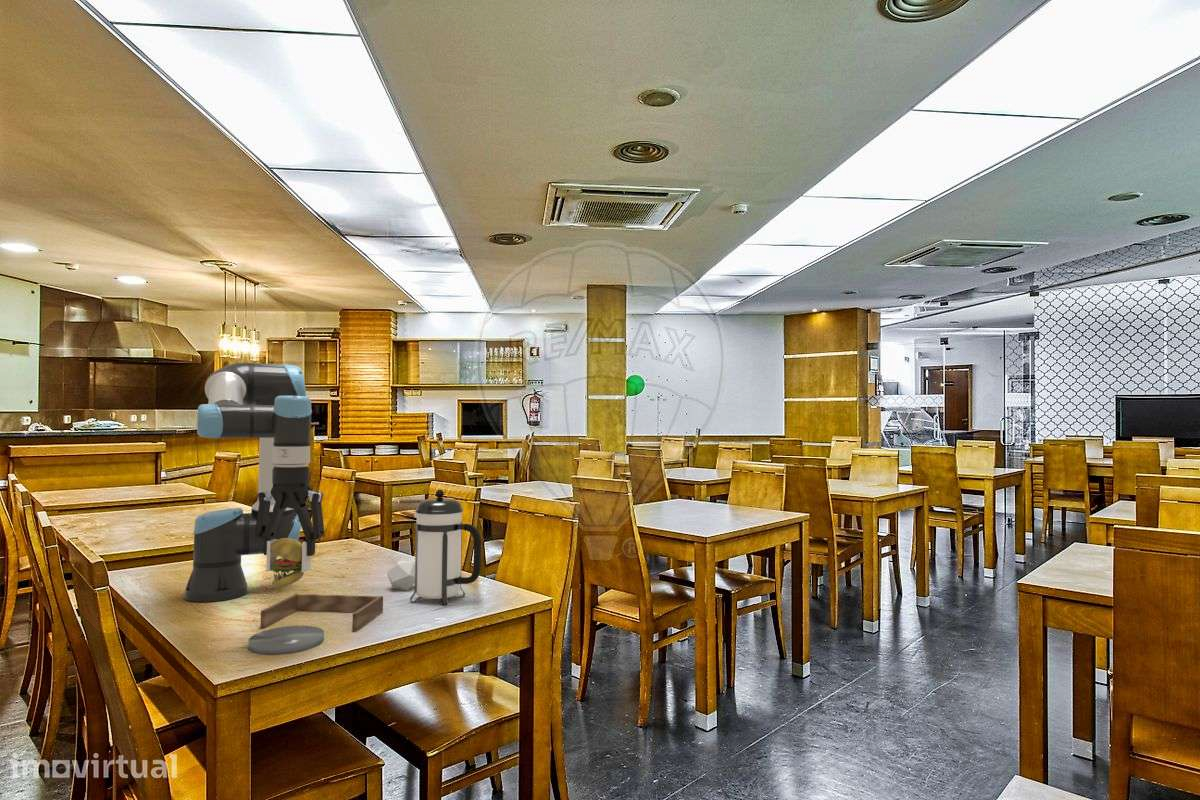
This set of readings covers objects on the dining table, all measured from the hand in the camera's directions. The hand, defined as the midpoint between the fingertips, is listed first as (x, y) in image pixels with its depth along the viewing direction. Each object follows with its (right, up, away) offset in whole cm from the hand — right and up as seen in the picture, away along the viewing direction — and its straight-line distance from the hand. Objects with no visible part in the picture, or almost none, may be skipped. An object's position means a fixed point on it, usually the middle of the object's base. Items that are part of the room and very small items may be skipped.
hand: (288, 570), depth 149 cm
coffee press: (+25, -17, +37) cm, 48 cm away
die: (+11, -18, +49) cm, 53 cm away
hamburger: (0, -4, 0) cm, 4 cm away
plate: (0, -16, -1) cm, 16 cm away
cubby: (+1, -16, +16) cm, 23 cm away
